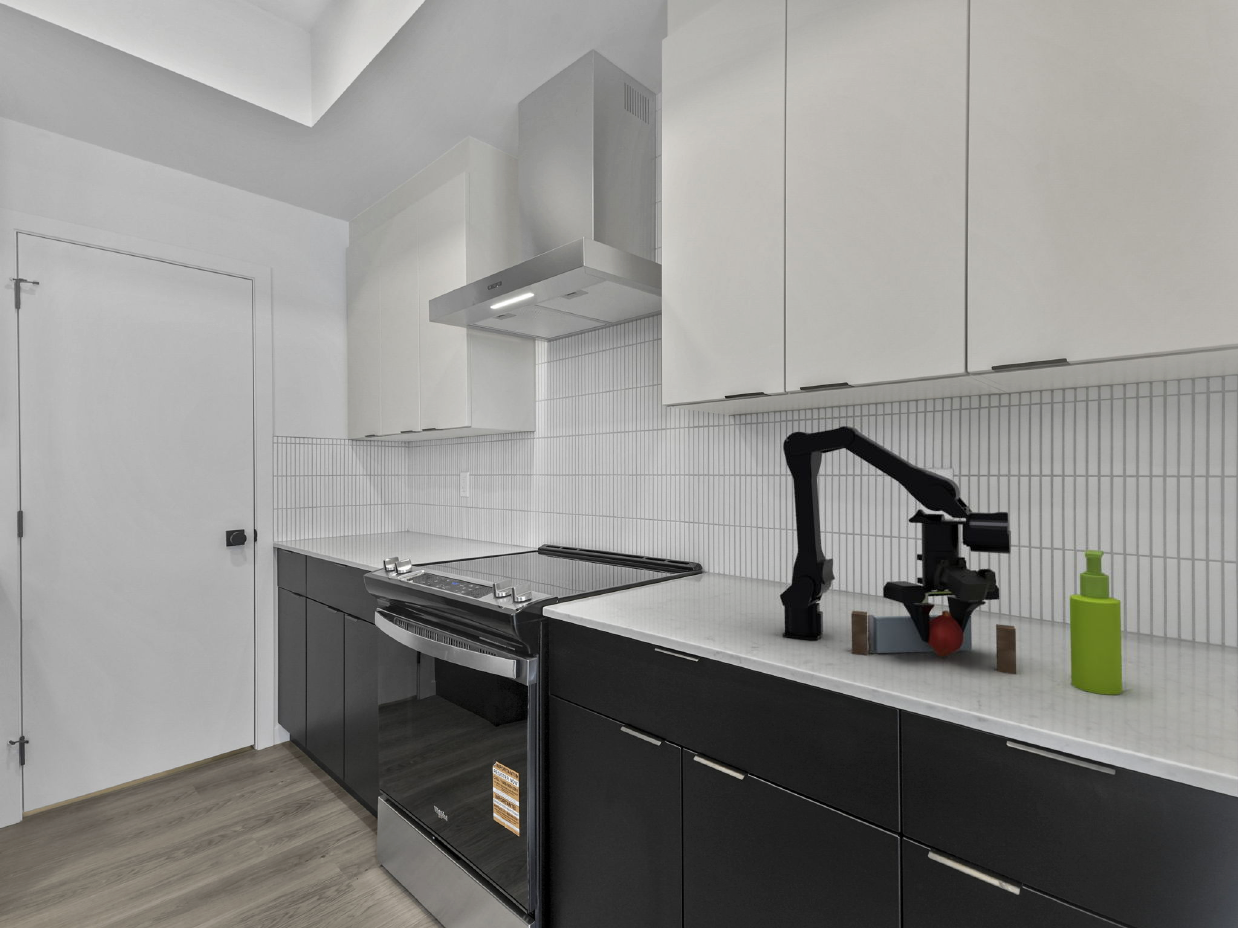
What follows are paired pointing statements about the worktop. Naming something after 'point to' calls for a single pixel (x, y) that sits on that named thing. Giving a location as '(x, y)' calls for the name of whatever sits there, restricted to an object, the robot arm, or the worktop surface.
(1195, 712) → the worktop surface
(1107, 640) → the soap dispenser
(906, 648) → the door
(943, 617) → the onion
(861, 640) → the door frame
